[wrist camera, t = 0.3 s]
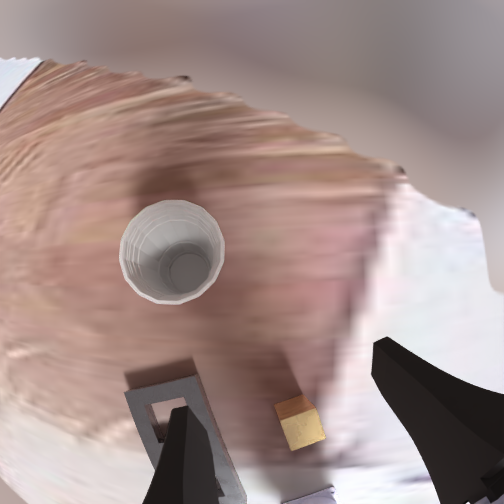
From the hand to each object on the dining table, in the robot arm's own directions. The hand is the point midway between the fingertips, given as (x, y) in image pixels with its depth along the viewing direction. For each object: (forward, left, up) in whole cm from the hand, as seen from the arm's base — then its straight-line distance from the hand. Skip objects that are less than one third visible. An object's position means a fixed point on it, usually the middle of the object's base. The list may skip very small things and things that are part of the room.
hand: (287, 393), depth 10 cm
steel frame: (-10, +13, -28) cm, 33 cm away
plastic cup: (+13, +5, -29) cm, 32 cm away
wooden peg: (-9, -2, -28) cm, 30 cm away
